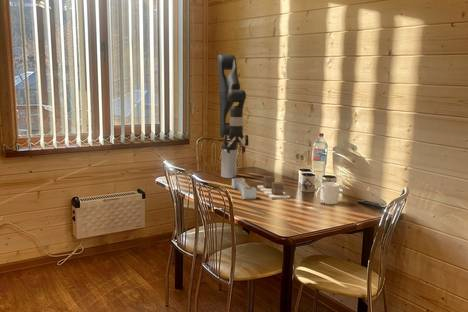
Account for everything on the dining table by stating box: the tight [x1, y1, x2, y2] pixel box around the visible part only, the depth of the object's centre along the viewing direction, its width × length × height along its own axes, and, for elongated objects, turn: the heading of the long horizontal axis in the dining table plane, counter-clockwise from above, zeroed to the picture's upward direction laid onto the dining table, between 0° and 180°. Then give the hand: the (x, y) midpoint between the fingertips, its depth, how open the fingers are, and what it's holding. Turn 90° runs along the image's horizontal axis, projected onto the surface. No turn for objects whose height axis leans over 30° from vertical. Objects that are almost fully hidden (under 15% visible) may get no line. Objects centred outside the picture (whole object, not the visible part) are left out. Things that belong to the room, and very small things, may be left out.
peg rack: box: [256, 175, 291, 200], centre depth 246 cm, size 26×10×7 cm, turn 14°
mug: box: [315, 181, 340, 205], centre depth 230 cm, size 12×9×9 cm
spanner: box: [231, 177, 257, 200], centre depth 244 cm, size 26×6×5 cm, turn 14°
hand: (235, 153), depth 262 cm, fingers open, 8 cm apart
